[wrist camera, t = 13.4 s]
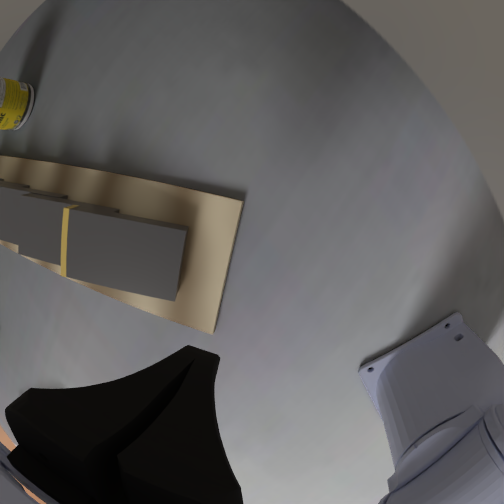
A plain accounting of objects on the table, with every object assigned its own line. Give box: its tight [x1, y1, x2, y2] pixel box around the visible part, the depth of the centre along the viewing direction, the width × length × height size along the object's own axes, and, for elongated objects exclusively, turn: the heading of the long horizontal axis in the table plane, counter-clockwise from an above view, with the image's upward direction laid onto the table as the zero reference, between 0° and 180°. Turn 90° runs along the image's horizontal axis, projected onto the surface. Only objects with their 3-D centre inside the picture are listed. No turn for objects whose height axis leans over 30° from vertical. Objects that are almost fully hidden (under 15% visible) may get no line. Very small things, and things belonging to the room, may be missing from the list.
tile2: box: [18, 193, 120, 266], centre depth 20 cm, size 2×5×9 cm
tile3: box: [0, 184, 68, 245], centre depth 20 cm, size 2×5×9 cm
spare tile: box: [61, 205, 189, 302], centre depth 19 cm, size 2×5×9 cm
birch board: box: [0, 155, 244, 335], centre depth 22 cm, size 34×10×1 cm, turn 77°
